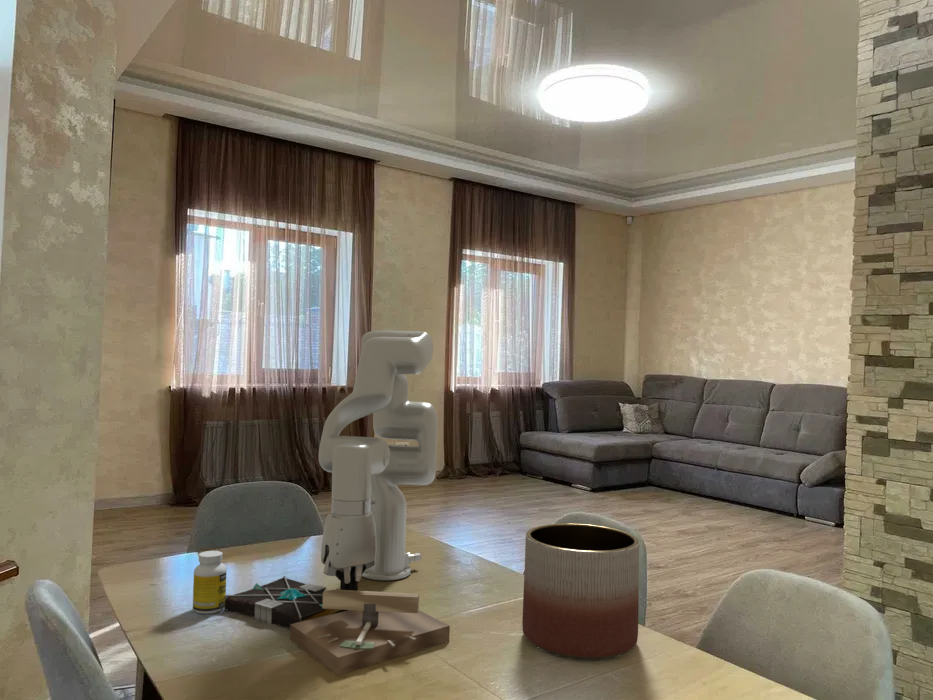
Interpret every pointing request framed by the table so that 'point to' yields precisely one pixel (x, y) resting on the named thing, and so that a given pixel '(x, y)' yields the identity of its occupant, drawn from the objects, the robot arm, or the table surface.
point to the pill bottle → (209, 583)
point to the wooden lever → (370, 604)
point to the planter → (581, 590)
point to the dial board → (366, 638)
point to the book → (281, 602)
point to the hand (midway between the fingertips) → (348, 600)
